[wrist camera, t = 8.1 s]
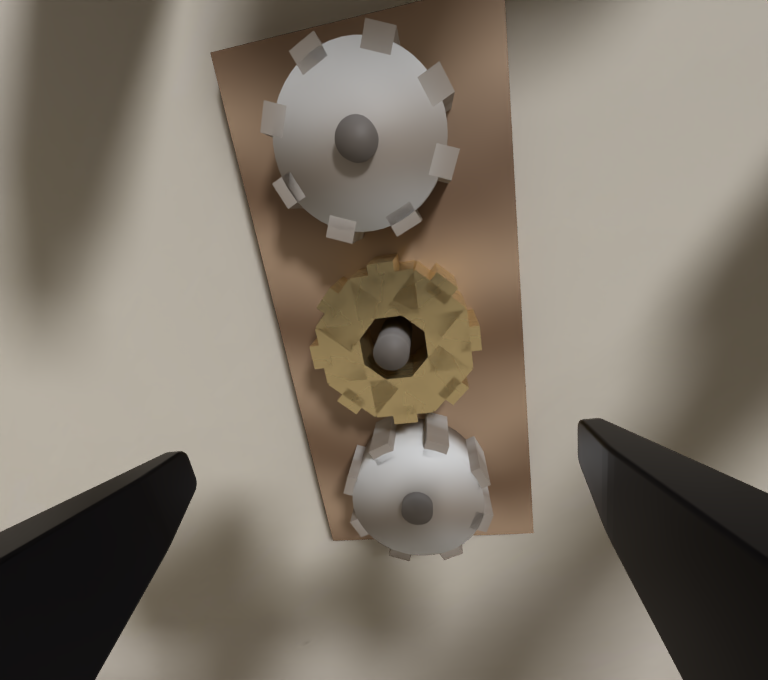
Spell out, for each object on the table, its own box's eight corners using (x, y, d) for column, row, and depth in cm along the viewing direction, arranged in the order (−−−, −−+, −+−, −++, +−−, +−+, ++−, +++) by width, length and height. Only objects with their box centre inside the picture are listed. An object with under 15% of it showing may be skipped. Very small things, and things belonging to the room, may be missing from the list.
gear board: (225, 62, 16) (160, 18, 12) (497, -3, 15) (523, -79, 11) (337, 524, 24) (319, 588, 20) (528, 516, 22) (549, 584, 18)
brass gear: (466, 242, 17) (472, 248, 14) (480, 389, 19) (488, 415, 16) (311, 266, 18) (292, 276, 15) (341, 402, 20) (329, 430, 17)
